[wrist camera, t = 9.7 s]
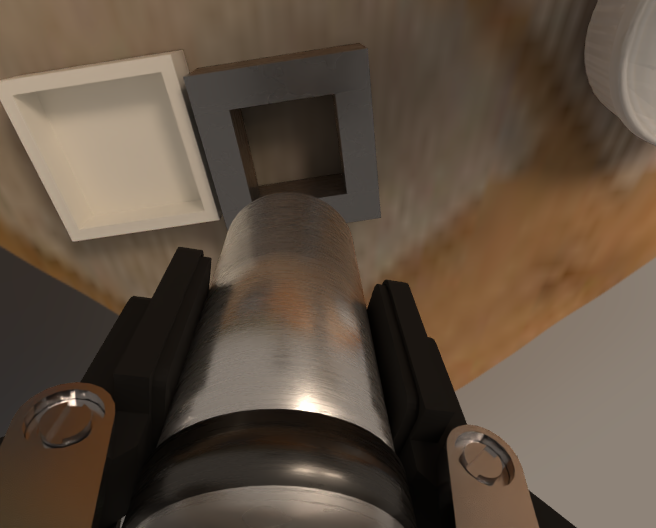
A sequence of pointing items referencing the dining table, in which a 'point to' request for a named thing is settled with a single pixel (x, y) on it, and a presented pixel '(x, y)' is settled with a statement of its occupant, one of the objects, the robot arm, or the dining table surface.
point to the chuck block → (278, 86)
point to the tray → (115, 144)
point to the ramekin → (624, 62)
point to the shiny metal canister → (278, 390)
